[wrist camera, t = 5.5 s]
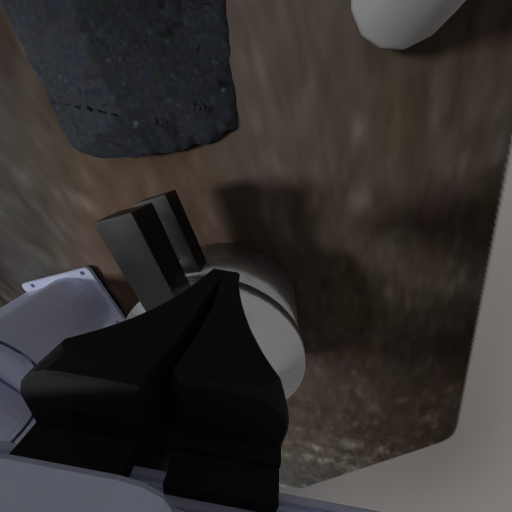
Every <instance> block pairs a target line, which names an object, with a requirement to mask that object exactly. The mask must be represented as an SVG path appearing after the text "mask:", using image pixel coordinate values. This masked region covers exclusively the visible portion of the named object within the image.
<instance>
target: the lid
mask: <svg viewBox="0 0 512 512" xmlns="http://www.w3.org/2000/svg"><path fill="white" fill-rule="evenodd" d="M93 224H94V226H95V227H96V229H97V231H98V232H99V234H100V236H101V237H102V239H103V241H104V242H105V244H106V246H107V247H108V249H109V251H110V252H111V254H112V256H113V257H114V259H115V261H116V262H117V264H118V266H119V267H120V269H121V271H122V272H123V274H124V276H125V277H126V279H127V281H128V283H129V284H130V286H131V288H132V289H133V291H134V293H135V294H136V296H137V298H138V299H139V302H138V303H137V304H136V306H135V307H134V308H133V309H132V310H131V312H130V313H129V314H128V316H127V318H126V320H128V319H131V318H133V317H135V316H138V315H140V314H142V313H145V312H147V311H149V310H151V309H154V308H156V307H158V306H160V305H161V304H163V303H165V302H167V301H169V300H171V299H172V298H174V297H176V296H177V295H179V294H180V293H182V292H183V291H185V290H186V289H188V288H189V287H190V286H192V285H193V284H194V283H196V282H197V281H198V280H200V279H201V278H202V277H204V276H188V277H186V275H185V273H184V271H183V268H182V266H181V264H180V262H179V260H178V258H177V255H176V253H175V251H174V249H173V247H172V245H171V242H170V240H169V238H168V236H167V234H166V232H165V229H164V227H163V225H162V223H161V221H160V219H159V216H158V214H157V212H156V210H155V208H154V206H153V203H148V204H145V205H141V206H137V207H134V208H130V209H126V210H123V211H119V212H116V213H114V214H112V215H110V216H108V217H105V218H103V219H101V220H99V221H96V222H94V223H93ZM239 291H240V297H241V302H242V306H243V309H244V313H245V316H246V319H247V321H248V324H249V326H250V329H251V331H252V333H253V335H254V337H255V339H256V341H257V343H258V345H259V347H260V348H261V350H262V352H263V354H264V355H265V357H266V358H267V360H268V362H269V363H270V364H271V366H272V367H273V369H274V370H275V372H276V373H277V374H278V376H279V377H280V379H281V382H282V386H283V389H284V393H285V398H286V399H288V398H289V397H290V396H291V395H292V394H293V393H294V392H295V391H296V390H297V388H298V387H299V385H300V383H301V381H302V379H303V377H304V373H305V364H306V360H305V351H304V344H303V338H302V335H301V332H300V330H299V328H298V326H297V324H296V322H295V321H294V319H293V318H292V317H291V315H290V314H289V313H288V312H287V311H286V310H285V309H284V308H283V307H282V305H281V304H279V303H278V302H277V301H275V300H274V299H273V298H272V297H270V296H269V295H267V294H265V293H264V292H262V291H260V290H258V289H256V288H254V287H252V286H250V285H248V284H245V283H242V282H239Z"/></svg>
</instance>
